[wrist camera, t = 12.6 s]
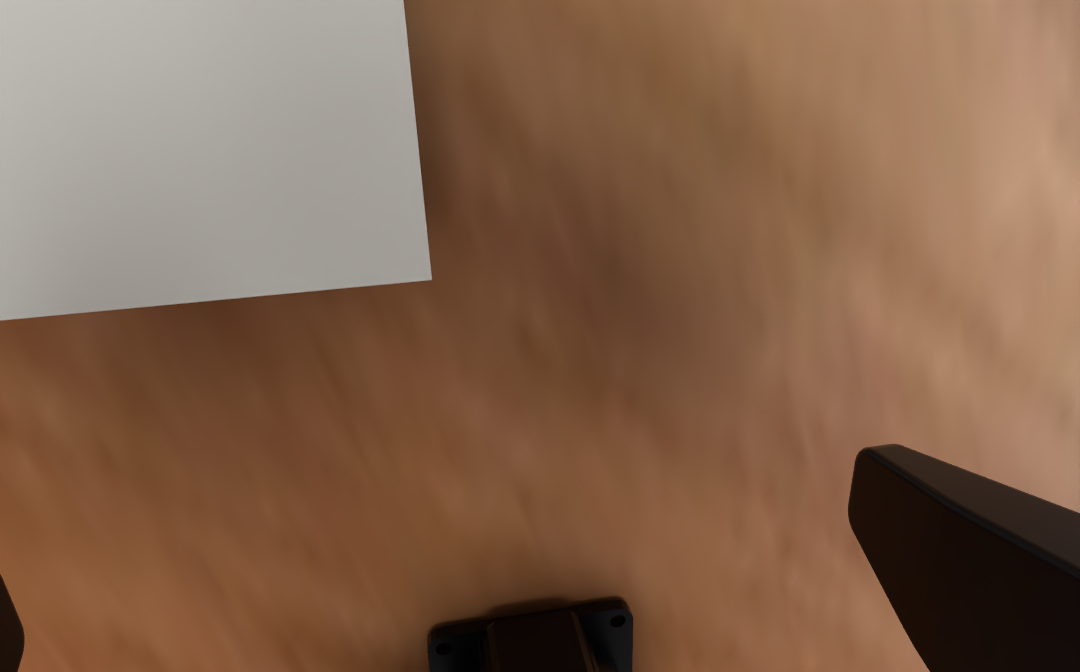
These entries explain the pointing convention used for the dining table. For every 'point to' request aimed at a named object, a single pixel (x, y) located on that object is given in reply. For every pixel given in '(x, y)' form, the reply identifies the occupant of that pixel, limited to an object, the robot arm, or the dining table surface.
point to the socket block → (204, 152)
